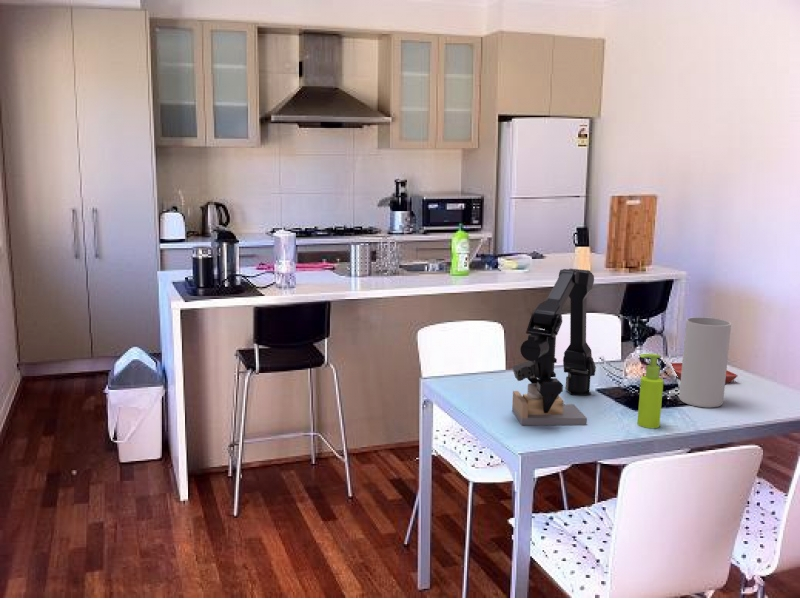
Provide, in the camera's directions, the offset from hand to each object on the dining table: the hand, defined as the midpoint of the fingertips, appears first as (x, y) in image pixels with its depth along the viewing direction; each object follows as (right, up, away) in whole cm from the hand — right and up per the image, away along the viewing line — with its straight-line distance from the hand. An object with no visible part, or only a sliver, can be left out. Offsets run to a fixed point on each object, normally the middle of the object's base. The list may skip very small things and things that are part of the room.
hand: (541, 407), depth 217 cm
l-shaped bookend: (+2, -3, +1) cm, 4 cm away
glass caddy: (0, -1, 0) cm, 1 cm away
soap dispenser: (+28, -4, -3) cm, 29 cm away
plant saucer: (+62, +3, +46) cm, 77 cm away
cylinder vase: (+52, -1, +19) cm, 55 cm away
